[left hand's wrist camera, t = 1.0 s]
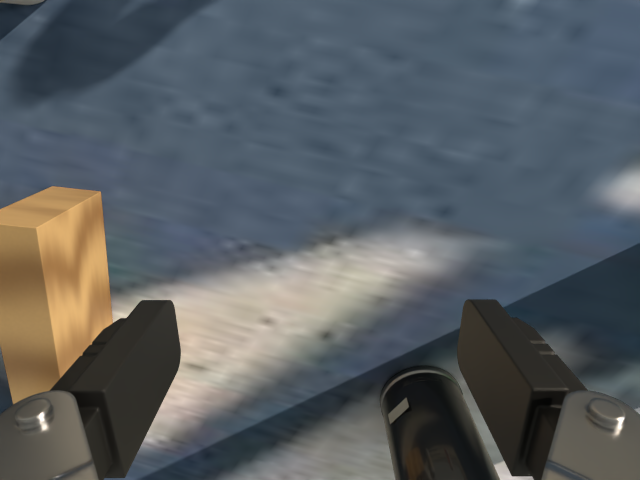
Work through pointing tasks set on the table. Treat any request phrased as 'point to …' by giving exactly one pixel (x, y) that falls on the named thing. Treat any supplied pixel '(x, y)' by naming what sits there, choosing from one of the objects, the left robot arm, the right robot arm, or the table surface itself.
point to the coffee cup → (22, 1)
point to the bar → (51, 285)
